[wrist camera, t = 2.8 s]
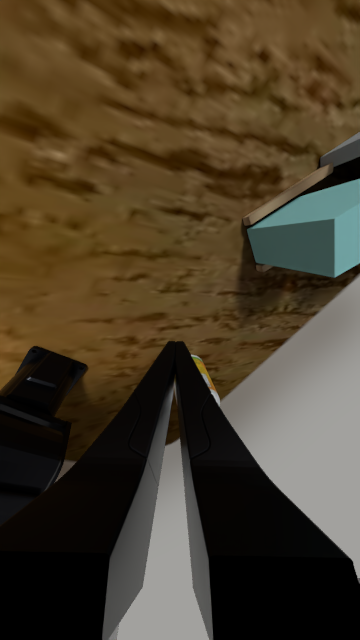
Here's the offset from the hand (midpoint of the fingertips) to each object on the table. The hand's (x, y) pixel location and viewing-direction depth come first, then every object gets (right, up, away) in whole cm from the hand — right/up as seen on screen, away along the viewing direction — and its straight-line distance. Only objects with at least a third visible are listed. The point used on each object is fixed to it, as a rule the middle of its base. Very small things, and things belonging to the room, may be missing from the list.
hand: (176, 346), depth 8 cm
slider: (+12, +12, +9) cm, 19 cm away
